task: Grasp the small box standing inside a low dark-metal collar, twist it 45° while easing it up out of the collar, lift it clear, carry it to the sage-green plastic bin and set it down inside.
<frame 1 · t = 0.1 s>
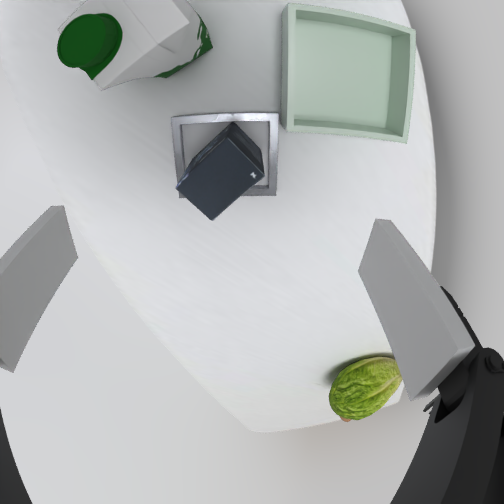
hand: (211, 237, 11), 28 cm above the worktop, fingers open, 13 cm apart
bin: (341, 72, 29), on the worktop
lettuce: (365, 365, 69), on the worktop
egg: (344, 403, 85), on the worktop
collar: (225, 154, 36), on the worktop
box: (226, 153, 36), resting in collar
milk carton: (175, 43, 27), on the worktop
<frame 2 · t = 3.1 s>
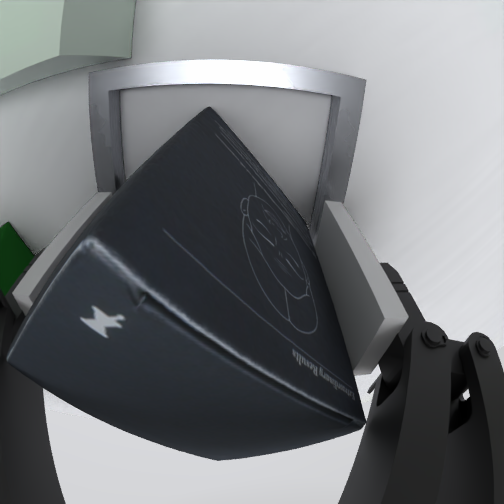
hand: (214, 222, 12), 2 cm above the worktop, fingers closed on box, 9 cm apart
collar: (218, 202, 14), on the worktop
box: (218, 200, 14), resting in collar, touching gripper
milk carton: (21, 272, 16), on the worktop
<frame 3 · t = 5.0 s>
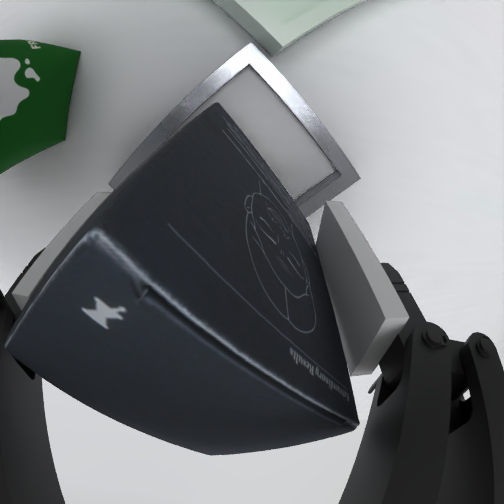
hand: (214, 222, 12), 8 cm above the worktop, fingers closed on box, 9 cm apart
collar: (231, 170, 19), on the worktop
box: (222, 195, 14), point 6 cm above the worktop, touching gripper
milk carton: (41, 92, 14), on the worktop
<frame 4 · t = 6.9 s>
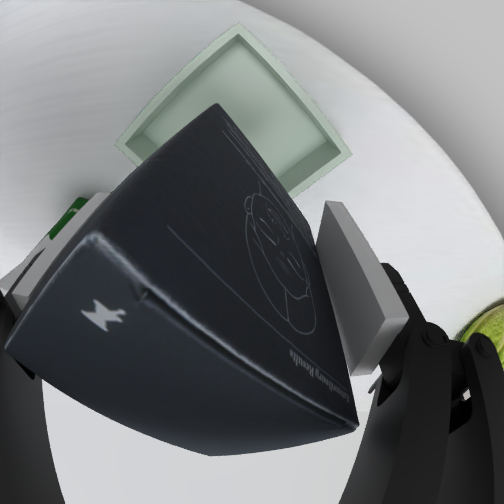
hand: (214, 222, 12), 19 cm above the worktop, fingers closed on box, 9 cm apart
bin: (234, 131, 28), on the worktop
lettuce: (482, 322, 51), on the worktop
box: (222, 196, 14), point 17 cm above the worktop, touching gripper
milk carton: (100, 224, 34), on the worktop
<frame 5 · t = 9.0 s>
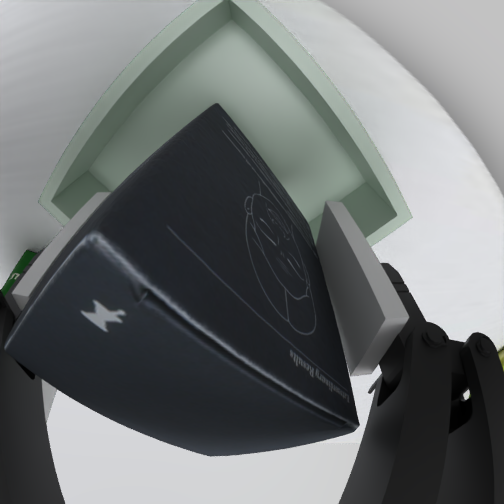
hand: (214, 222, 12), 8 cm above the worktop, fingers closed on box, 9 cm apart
bin: (223, 165, 18), on the worktop
box: (222, 196, 14), point 5 cm above the worktop, touching gripper
milk carton: (57, 282, 24), on the worktop
when the fingers open (4 cm above the worktop, at t = 10.6 s): box drops 2 cm, resting on bin.
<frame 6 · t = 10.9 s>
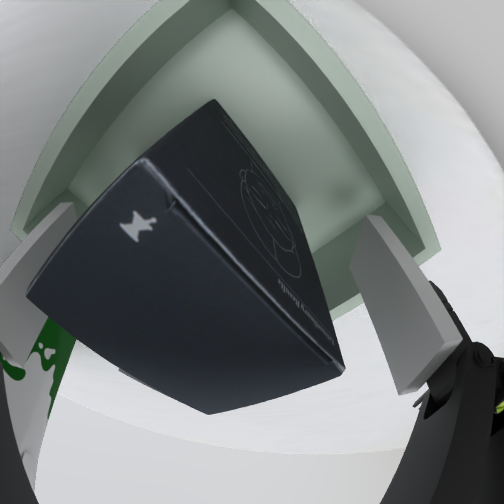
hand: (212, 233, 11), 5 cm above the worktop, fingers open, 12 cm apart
bin: (221, 183, 16), on the worktop
box: (218, 182, 15), resting on bin
milk carton: (45, 303, 22), on the worktop
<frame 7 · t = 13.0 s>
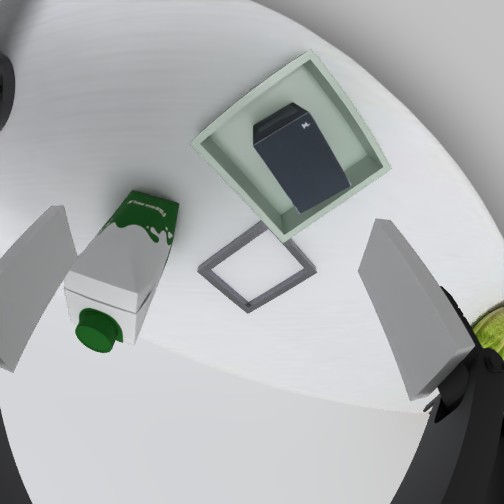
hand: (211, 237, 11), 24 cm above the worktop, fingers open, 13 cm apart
bin: (290, 141, 32), on the worktop
lettuce: (485, 322, 54), on the worktop
collar: (257, 267, 42), on the worktop
box: (289, 139, 31), resting on bin
milk carton: (151, 217, 38), on the worktop
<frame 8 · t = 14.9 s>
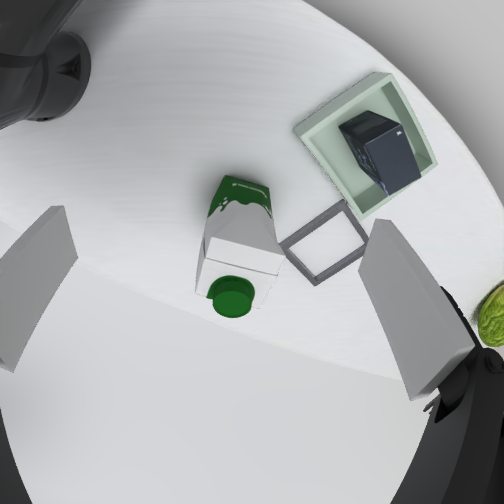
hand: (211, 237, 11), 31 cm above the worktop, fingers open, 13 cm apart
bin: (363, 140, 38), on the worktop
lettuce: (496, 295, 61), on the worktop
collar: (327, 244, 48), on the worktop
box: (363, 139, 37), resting on bin
milk carton: (240, 200, 44), on the worktop
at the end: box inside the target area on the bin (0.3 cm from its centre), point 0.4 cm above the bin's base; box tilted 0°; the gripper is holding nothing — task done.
